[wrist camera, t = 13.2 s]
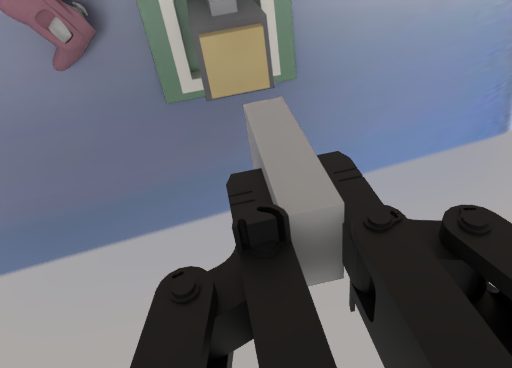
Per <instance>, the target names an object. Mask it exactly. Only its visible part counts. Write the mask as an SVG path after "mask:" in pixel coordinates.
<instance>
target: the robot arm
mask: <svg viewBox="0 0 512 368" xmlns="http://www.w3.org/2000/svg"><path fill="white" fill-rule="evenodd" d="M243 108H244V115H245V121H246V127H247V133H248V139H249V145H250V151H251V157H252V163H253V167H254V170H249V171H245V172H240V173H235V174H231V175H230V178H229V180H228V182H227V184H226V186H227V192H228V197H229V203H230V208H231V214H232V218H233V224H232V229H233V234H234V238H235V243H236V246H235V250H234V252H233V253H232V255H231V256H230V257H229V258H228V259H227V260H226V261H225V262H223V263H222V264H220V265H219V266H217V267H215V268H213V269H211V270H209V271H206V270H204V269H202V268H200V267H193V266H189V267H184V268H179V269H177V270H175V271H174V272H171V273H169V274H168V275H167V276H166V277H165V278H164V279H163V280H162V281H161V282H160V284H159V286H158V288H157V289H156V292H155V295H154V298H153V301H152V304H151V307H150V310H149V313H148V316H147V319H146V321H145V325H144V328H143V330H142V333H141V336H140V339H139V342H138V346H137V348H136V351H135V354H134V357H133V360H132V363H131V366H130V368H232V360H233V351H234V350H236V349H237V348H239V347H241V346H242V345H244V344H246V343H247V342H249V341H250V340H252V339H254V343H255V348H256V354H257V359H258V364H259V368H337V367H336V364H335V361H334V358H333V356H332V353H331V350H330V348H329V345H328V342H327V339H326V336H325V333H324V331H323V328H322V325H321V322H320V320H319V317H318V314H317V311H316V308H315V306H314V303H313V300H312V297H311V294H310V291H309V289H308V286H311V285H316V284H320V283H324V282H329V281H333V280H338V279H342V278H344V267H345V269H346V271H347V273H348V275H349V277H350V299H349V305H350V310H351V312H352V311H355V304H356V306H357V308H358V310H359V312H360V315H361V317H362V319H363V321H364V323H365V326H366V328H367V330H368V332H369V334H370V336H371V339H372V341H373V343H374V345H375V348H376V349H377V352H378V354H379V356H380V358H381V361H382V363H383V365H384V367H385V368H512V224H511V223H510V222H509V221H507V220H506V219H504V218H502V217H501V216H499V215H497V214H496V213H494V212H492V211H490V210H488V209H486V208H483V207H478V206H475V205H459V206H454V207H451V208H450V209H449V210H447V211H446V212H445V213H444V216H443V219H442V221H433V220H412V219H407V218H406V217H405V215H403V214H402V213H401V212H400V211H399V210H398V209H395V208H393V207H391V206H388V205H384V204H383V203H382V202H381V200H380V199H379V198H378V196H377V195H376V194H375V192H374V191H373V189H372V188H371V186H370V185H369V184H368V182H367V181H366V179H365V178H364V177H363V176H362V174H361V172H360V171H359V170H358V169H357V167H356V165H355V164H354V163H353V161H352V160H351V159H350V158H349V157H348V156H346V155H344V154H342V153H341V152H339V151H336V152H331V153H326V154H321V155H316V154H315V152H314V150H313V149H312V147H311V145H310V144H309V142H308V140H307V138H306V137H305V135H304V133H303V132H302V130H301V128H300V126H299V125H298V123H297V121H296V120H295V118H294V116H293V114H292V113H291V111H290V109H289V108H288V106H287V104H286V102H285V101H284V99H283V97H277V98H272V99H267V100H262V101H257V102H252V103H247V104H243ZM489 282H490V283H491V284H492V285H493V286H495V287H496V288H495V287H493V286H492V285H491V284H489Z"/></svg>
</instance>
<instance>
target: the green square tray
mask: <svg viewBox="0 0 512 368" xmlns="http://www.w3.org/2000/svg"><path fill="white" fill-rule="evenodd" d="M136 1H137V5H138V8H139V12H140V15H141V18H142V22H143V25H144V28H145V32H146V35H147V39H148V42H149V45H150V49H151V52H152V56H153V59H154V62H155V66H156V69H157V73H158V76H159V79H160V83H161V86H162V89H163V93H164V96H165V100H166V103H167V104H168V103H173V102H178V101H184V100H189V99H194V98H199V97H204V96H205V92H204V88H203V83H202V79H201V74H200V70H199V66H198V61H197V57H196V52H195V48H194V44H193V39H192V35H191V30H190V24H189V15H188V7H187V0H136ZM254 2H255V3H256V4H257V5H258V6H259V7H260V8H261V9H262V10H263V11H264V12H265V13H266V15H267V25H268V34H269V43H270V52H271V61H272V70H273V80H274V83H276V82H281V81H286V80H291V79H296V64H295V50H294V36H293V22H292V8H291V0H254Z"/></svg>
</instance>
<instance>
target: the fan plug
mask: <svg viewBox="0 0 512 368" xmlns="http://www.w3.org/2000/svg"><path fill="white" fill-rule="evenodd" d="M187 7H188V15H189V24H190V30H191V35H192V39H193V44H194V48H195V52H196V57H197V61H198V66H199V70H200V74H201V79H202V83H203V88H204V92H205V97H206V101H209V100H214V99H219V98H224V97H229V96H234V95H239V94H244V93H250V92H255V91H260V90H265V89H270V88H274V80H273V70H272V61H271V52H270V43H269V34H268V25H267V15H266V13H265V12H264V11H263V10H262V9H261V8H260V7H259V6H258V5H257V4H256V3H255V2H254V0H187Z"/></svg>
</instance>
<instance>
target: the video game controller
mask: <svg viewBox="0 0 512 368" xmlns="http://www.w3.org/2000/svg"><path fill="white" fill-rule="evenodd" d="M72 4H73V5H74V7H73V6H70V5H67V4H66V3H64V2H63V1H62V0H0V10H2V11H3V12H4V13H5V14H7V15H8V16H10V17H12V18H13V19H15V20H17V21H19V22H22V23H24V24H26V25H28V26H30V27H31V28H32V29H34V30H35V31H36V32H38V33H39V34H40V35H41V36H43V37H44V38H45V39H47V40H48V41H50V42H51V43H53V44H54V45H56V46H57V50H56V53H55V55H54V57H53V66H54V68H55V69H56V70H58V71H63V70H66V69H67V68H69V67H70V66H71V65H72V64H74V63H75V62H76V61H77V60H78V59H79V58H80V57H81V56H82V55H83V53H84V52H85V50H86V48H87V46H88V44H89V42H90V41H91V39H92V38H93V36H94V35H95V34H96V31H95V30H94V28H93V27H92V26H91V25H90V24H89V23H88V22H87V21H86V20H85V17H84V16H83V14H84V15H85V16H88V14H87V11H86V9H85V8H84V7H83V6H82V5H81V4H79V3H75V2H72ZM82 13H83V14H82Z"/></svg>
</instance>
